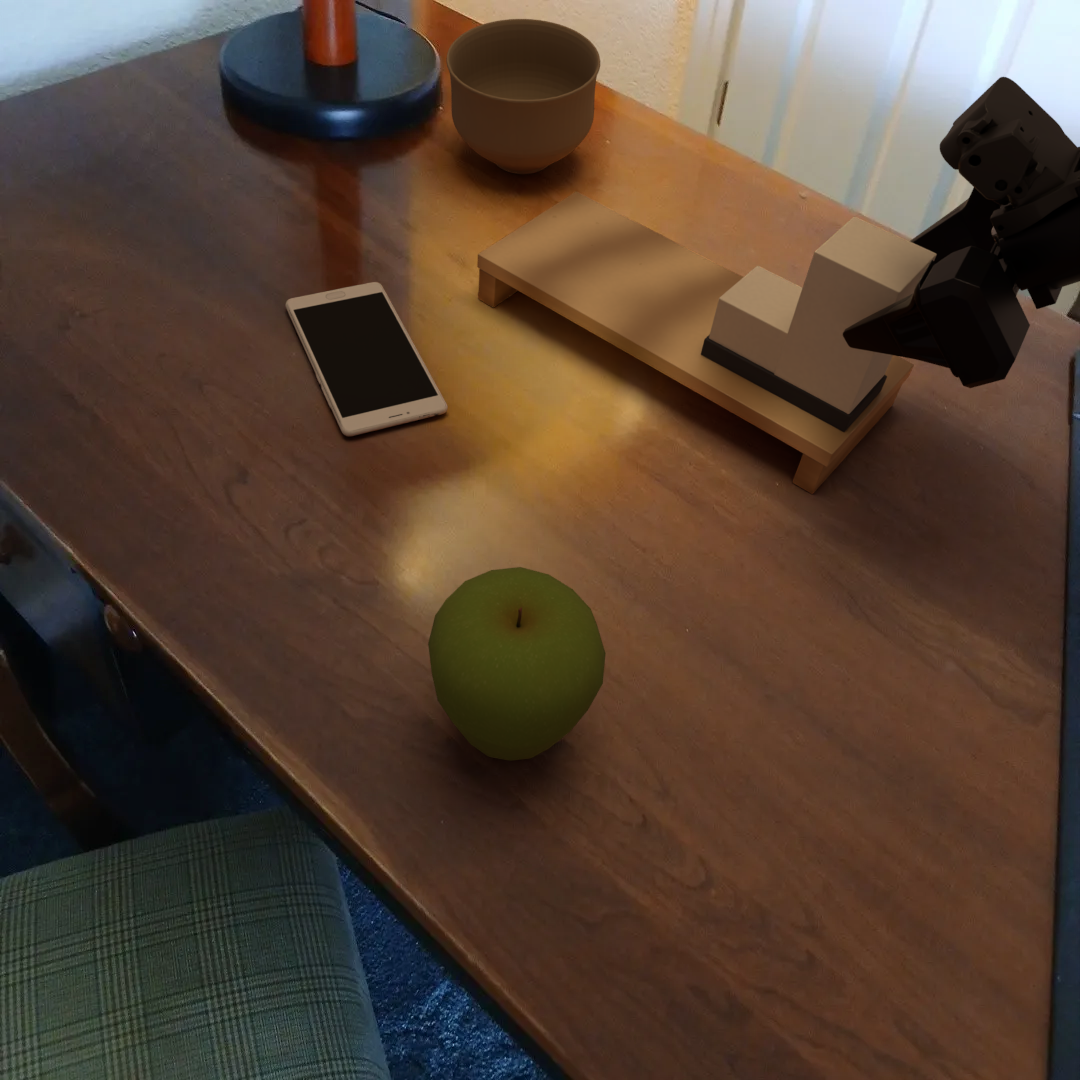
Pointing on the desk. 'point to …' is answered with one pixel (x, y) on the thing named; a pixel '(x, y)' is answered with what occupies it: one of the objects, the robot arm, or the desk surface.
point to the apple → (515, 661)
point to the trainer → (817, 322)
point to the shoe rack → (659, 316)
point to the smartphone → (364, 359)
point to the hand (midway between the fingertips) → (870, 299)
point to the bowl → (522, 91)
